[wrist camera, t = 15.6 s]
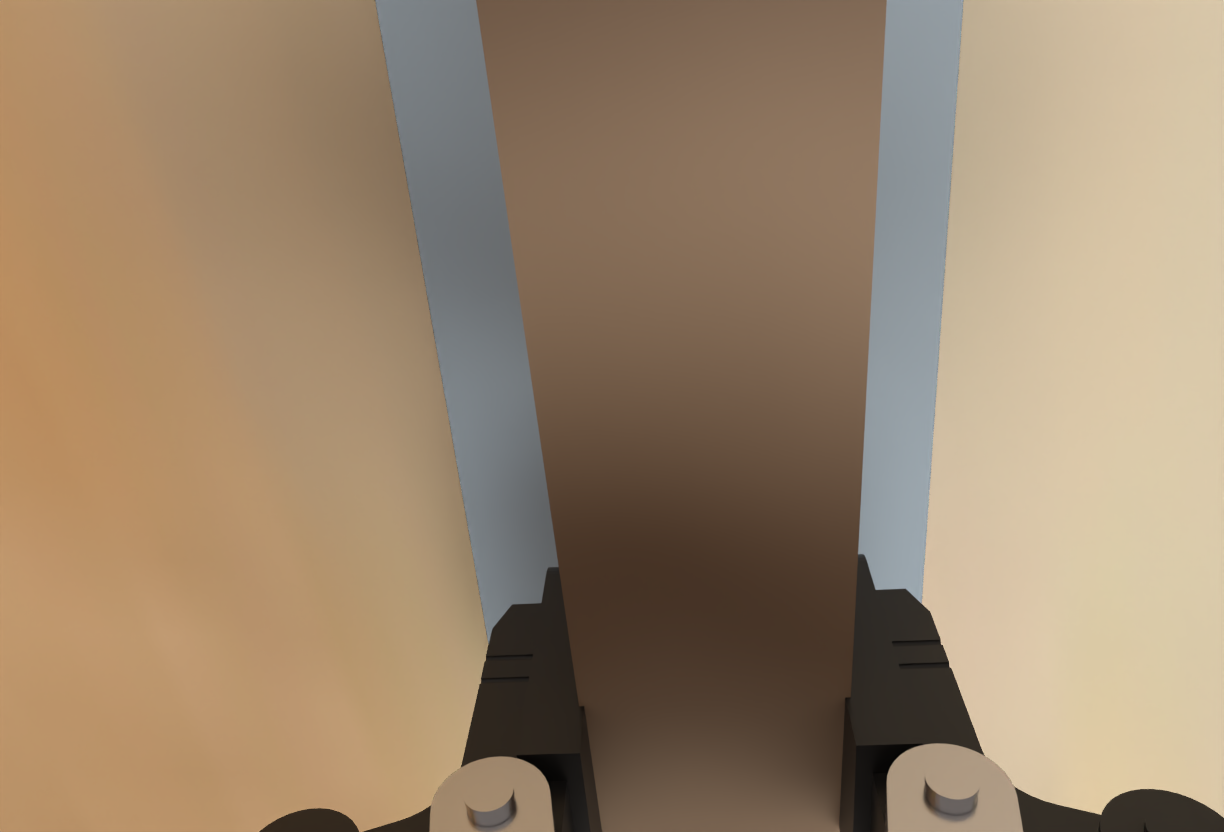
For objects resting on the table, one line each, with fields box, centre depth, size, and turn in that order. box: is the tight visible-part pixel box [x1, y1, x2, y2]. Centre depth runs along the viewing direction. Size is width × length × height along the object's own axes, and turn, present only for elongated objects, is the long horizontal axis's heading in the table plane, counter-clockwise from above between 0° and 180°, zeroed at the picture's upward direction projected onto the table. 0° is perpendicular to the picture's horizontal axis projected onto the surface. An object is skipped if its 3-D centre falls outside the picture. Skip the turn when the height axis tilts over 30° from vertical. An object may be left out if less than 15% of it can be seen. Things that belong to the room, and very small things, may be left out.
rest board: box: [375, 0, 963, 644], centre depth 22 cm, size 10×20×2 cm, turn 5°
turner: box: [476, 0, 887, 832], centre depth 14 cm, size 18×7×4 cm, turn 5°
